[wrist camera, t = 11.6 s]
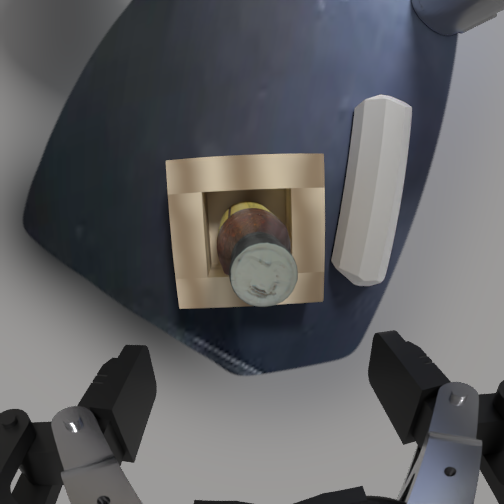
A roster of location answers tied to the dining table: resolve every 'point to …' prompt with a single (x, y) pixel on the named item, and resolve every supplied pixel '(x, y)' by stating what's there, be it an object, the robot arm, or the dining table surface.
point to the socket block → (234, 191)
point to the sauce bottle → (256, 254)
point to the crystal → (372, 189)
